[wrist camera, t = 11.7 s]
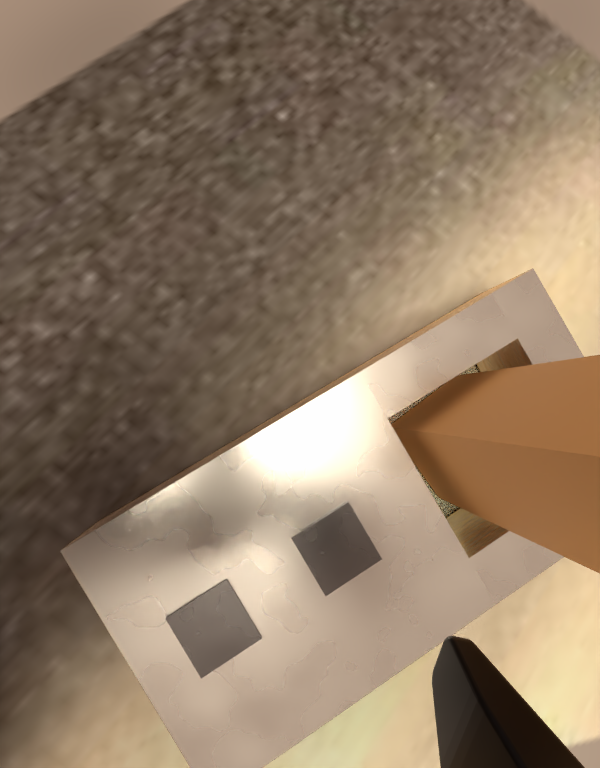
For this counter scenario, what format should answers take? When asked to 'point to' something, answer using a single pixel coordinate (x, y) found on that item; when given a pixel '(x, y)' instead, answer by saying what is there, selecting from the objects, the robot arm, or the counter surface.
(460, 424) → the orange post
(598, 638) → the counter surface
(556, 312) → the white peg board
